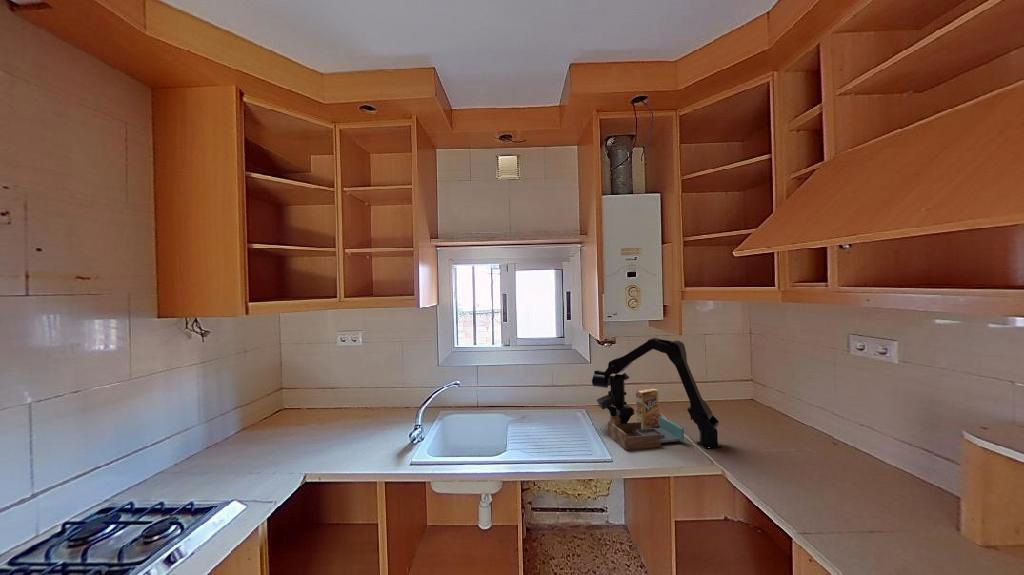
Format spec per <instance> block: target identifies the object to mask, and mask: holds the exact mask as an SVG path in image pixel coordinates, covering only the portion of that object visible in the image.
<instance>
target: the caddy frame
mask: <svg viewBox="0 0 1024 575" xmlns="http://www.w3.org/2000/svg"><path fill="white" fill-rule="evenodd" d="M607 429H608V430H607V434H608V435H607V436H608V438H610V439H612V441H613V442H615V443H616V444H617V445H618V446H620V447H621V448H622V449H623V450H625V451H632V450H633V451H634V450H643V449H651V448H662V444H661V438H660V434H655V435H644V436H635V435H634V434H632V433H631V430H635V429H642V427H641V422H637V421H636V422H635V421H634V422H628V423H622V424H613V423H611V422H610V420H609V421H607Z"/></svg>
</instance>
